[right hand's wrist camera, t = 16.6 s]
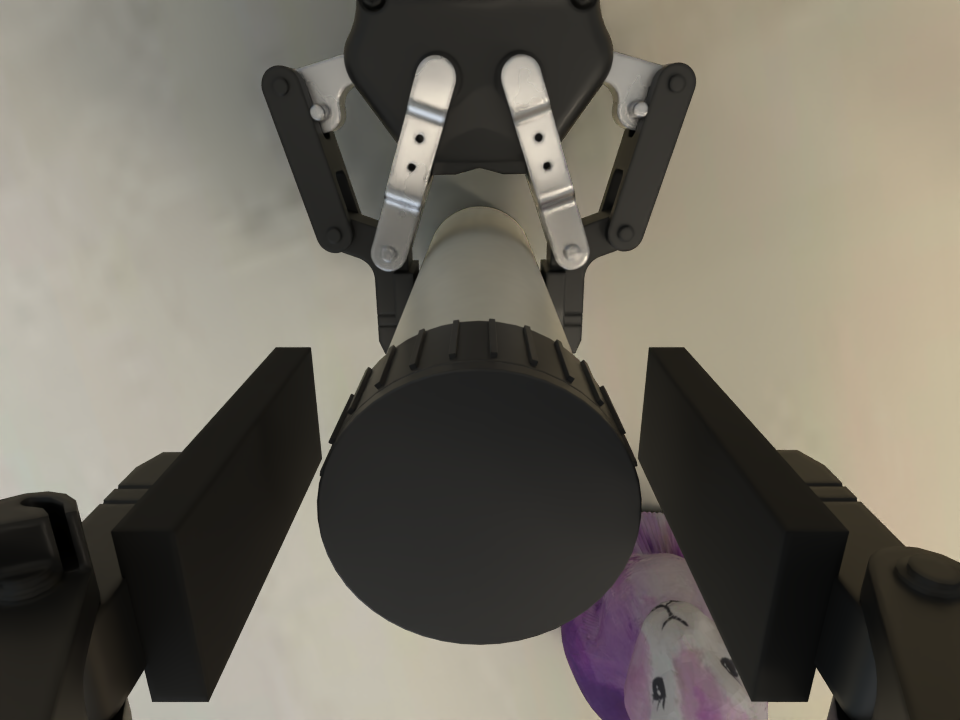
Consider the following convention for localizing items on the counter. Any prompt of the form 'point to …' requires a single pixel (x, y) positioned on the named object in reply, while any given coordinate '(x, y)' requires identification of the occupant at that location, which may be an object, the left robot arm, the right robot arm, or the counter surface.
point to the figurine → (655, 643)
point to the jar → (479, 278)
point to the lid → (479, 486)
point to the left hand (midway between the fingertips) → (481, 360)
